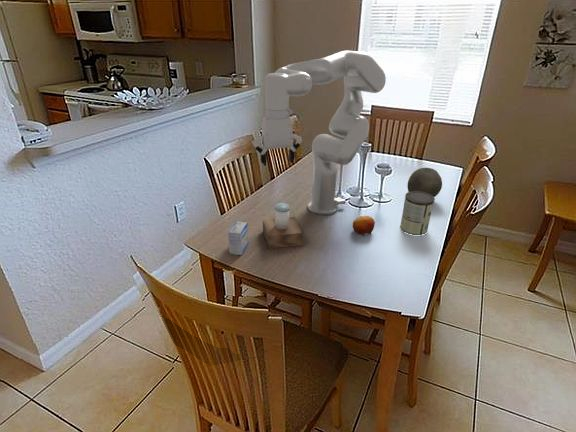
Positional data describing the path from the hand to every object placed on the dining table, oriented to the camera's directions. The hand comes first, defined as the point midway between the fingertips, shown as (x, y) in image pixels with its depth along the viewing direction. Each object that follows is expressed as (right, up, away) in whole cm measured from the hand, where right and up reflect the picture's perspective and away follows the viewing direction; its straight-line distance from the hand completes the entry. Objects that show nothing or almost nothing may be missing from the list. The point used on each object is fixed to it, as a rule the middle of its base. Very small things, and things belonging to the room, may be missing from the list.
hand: (277, 163), depth 130 cm
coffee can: (+52, -24, +14) cm, 59 cm away
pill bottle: (+1, -22, +4) cm, 22 cm away
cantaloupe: (+63, -12, +37) cm, 74 cm away
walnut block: (+1, -27, +7) cm, 27 cm away
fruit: (+32, -25, +11) cm, 42 cm away
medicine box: (-13, -30, 0) cm, 33 cm away
